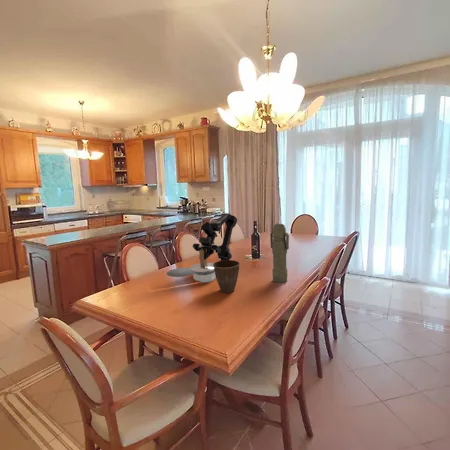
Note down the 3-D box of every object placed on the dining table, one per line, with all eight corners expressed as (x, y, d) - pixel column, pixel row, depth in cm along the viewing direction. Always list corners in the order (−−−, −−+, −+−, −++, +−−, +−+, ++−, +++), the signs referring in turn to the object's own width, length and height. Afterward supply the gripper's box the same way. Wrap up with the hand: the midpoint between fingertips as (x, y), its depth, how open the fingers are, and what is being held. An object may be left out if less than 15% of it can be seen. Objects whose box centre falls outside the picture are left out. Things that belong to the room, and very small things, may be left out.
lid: (199, 262, 195) (198, 245, 193) (222, 265, 187) (221, 247, 185) (184, 270, 180) (182, 251, 178) (208, 273, 171) (207, 254, 169)
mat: (197, 268, 207) (197, 267, 206) (193, 278, 187) (193, 276, 187) (170, 269, 208) (170, 268, 207) (163, 279, 188) (163, 277, 188)
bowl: (216, 275, 191) (216, 268, 190) (214, 282, 177) (214, 274, 176) (195, 275, 191) (195, 268, 191) (192, 283, 178) (191, 275, 177)
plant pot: (232, 297, 153) (230, 269, 150) (209, 293, 161) (207, 265, 158) (245, 288, 165) (244, 261, 163) (223, 284, 173) (222, 258, 171)
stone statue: (286, 284, 168) (285, 226, 163) (268, 281, 175) (267, 224, 170) (292, 279, 176) (291, 223, 170) (274, 276, 182) (273, 222, 177)
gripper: (193, 231, 187) (184, 251, 180) (217, 232, 179) (209, 254, 171) (200, 240, 196) (192, 260, 188) (224, 242, 187) (216, 263, 179)
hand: (202, 259), depth 181 cm, fingers closed on lid, 3 cm apart
